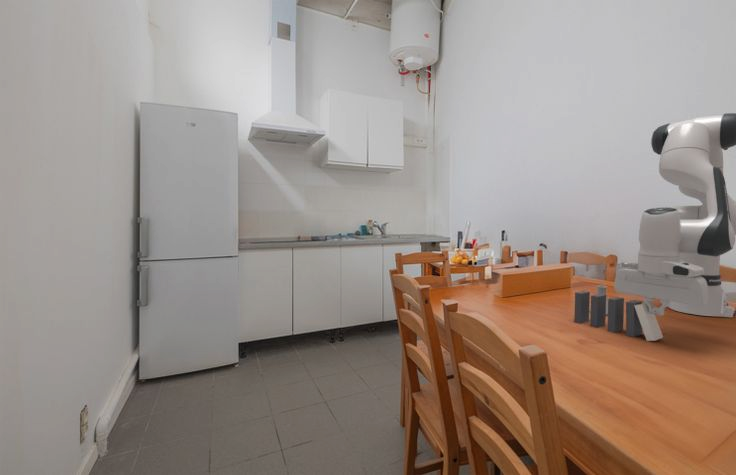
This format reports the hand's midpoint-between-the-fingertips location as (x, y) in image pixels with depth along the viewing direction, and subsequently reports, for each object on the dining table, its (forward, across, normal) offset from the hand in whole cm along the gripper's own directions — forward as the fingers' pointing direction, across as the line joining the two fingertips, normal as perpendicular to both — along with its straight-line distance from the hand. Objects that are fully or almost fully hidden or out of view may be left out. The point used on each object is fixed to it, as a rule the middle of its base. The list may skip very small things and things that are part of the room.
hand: (656, 314), depth 93 cm
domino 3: (+8, -10, 0) cm, 13 cm away
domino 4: (+8, -5, 0) cm, 9 cm away
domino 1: (+8, -20, 0) cm, 21 cm away
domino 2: (+8, -15, 0) cm, 17 cm away
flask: (+8, -22, +16) cm, 28 cm away
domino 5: (+7, 0, 0) cm, 7 cm away
